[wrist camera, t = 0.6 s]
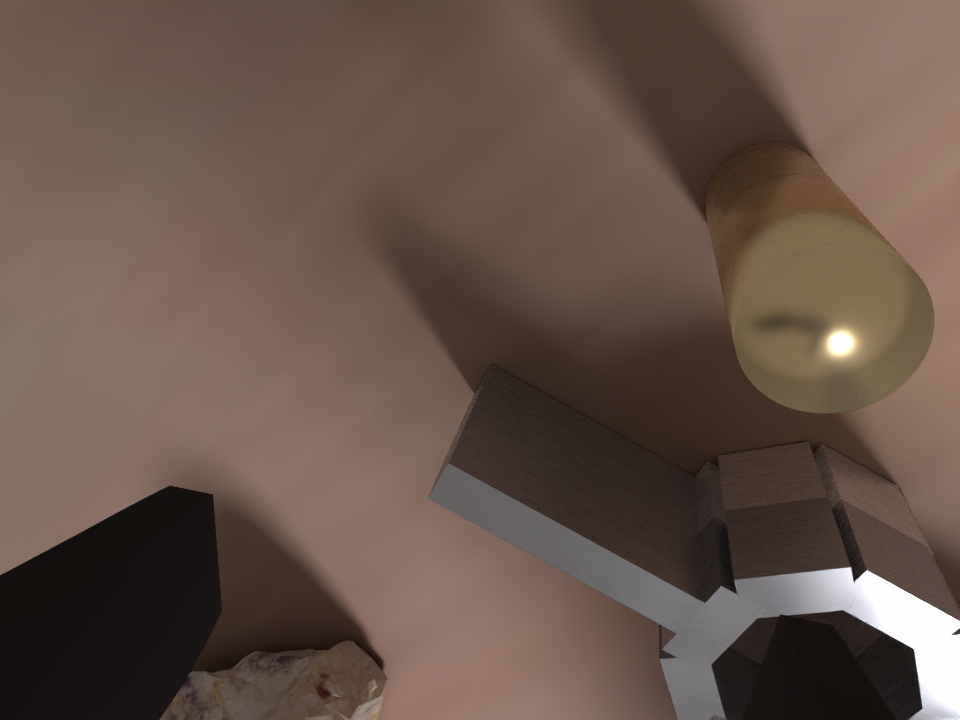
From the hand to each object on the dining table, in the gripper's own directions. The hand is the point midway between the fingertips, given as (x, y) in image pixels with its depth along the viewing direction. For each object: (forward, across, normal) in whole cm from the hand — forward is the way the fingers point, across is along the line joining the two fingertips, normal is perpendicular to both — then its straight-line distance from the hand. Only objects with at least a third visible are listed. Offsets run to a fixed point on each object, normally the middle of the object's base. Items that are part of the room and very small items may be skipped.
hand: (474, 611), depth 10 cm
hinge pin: (+10, -4, -4) cm, 11 cm away
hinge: (+10, -6, +5) cm, 13 cm away
